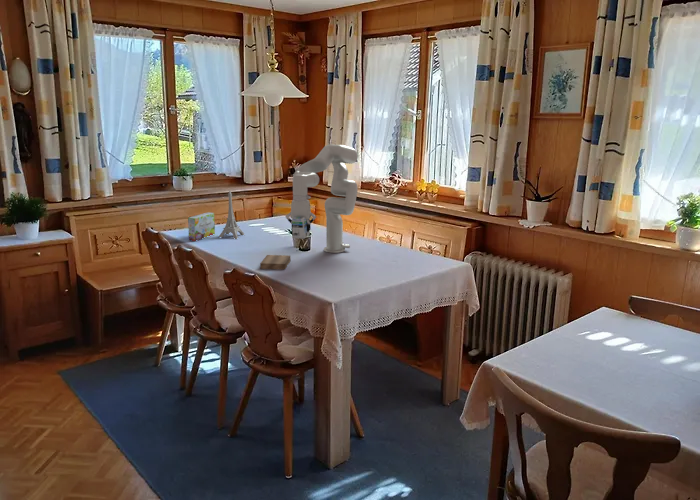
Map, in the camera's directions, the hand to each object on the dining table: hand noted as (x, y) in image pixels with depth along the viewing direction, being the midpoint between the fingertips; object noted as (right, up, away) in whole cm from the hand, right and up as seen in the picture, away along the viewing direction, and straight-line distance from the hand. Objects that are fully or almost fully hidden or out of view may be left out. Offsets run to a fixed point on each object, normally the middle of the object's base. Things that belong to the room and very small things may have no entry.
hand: (301, 230), depth 295 cm
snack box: (-69, -3, +63) cm, 94 cm away
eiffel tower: (-51, -2, +68) cm, 85 cm away
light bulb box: (0, -3, +1) cm, 3 cm away
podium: (-14, -18, +4) cm, 23 cm away
